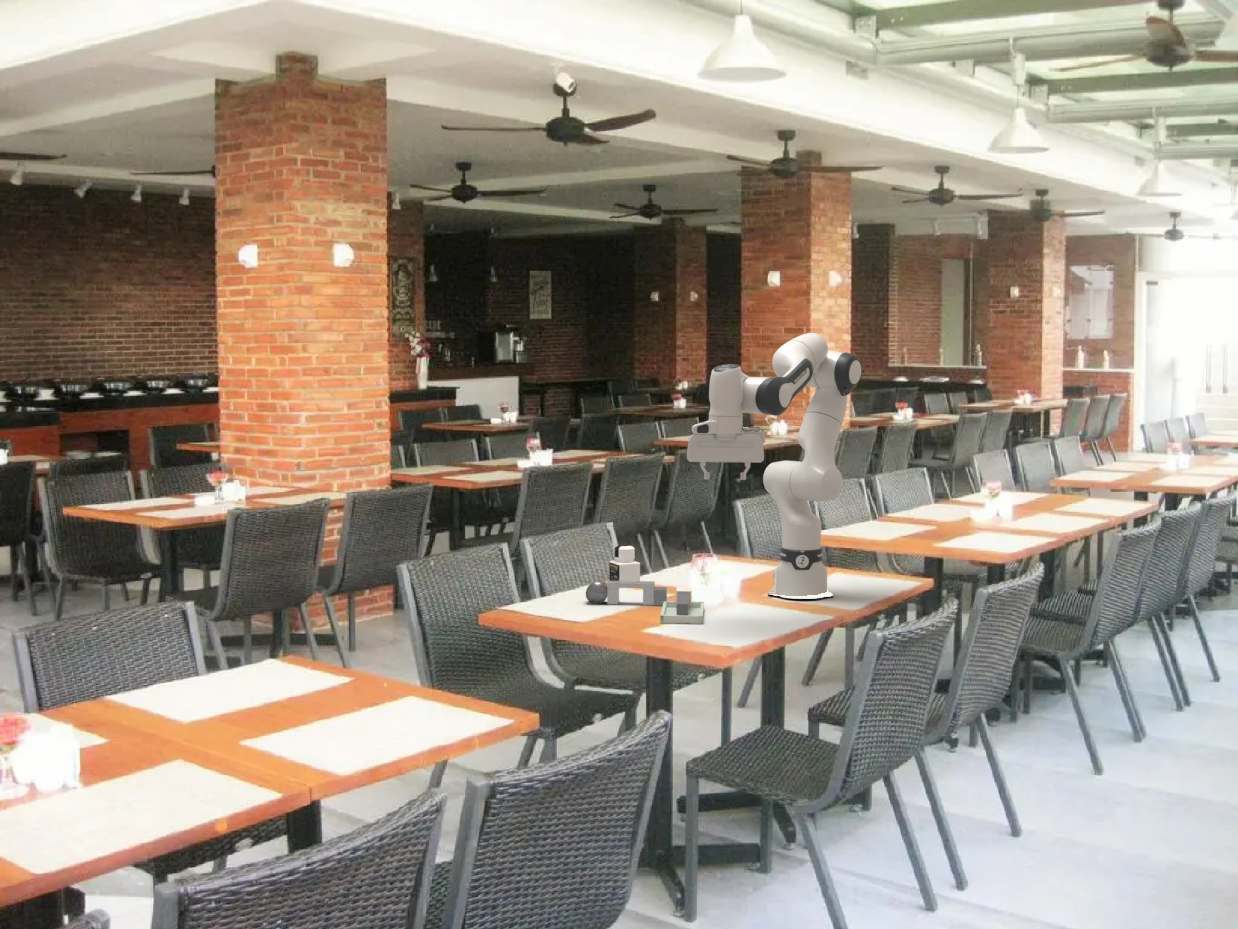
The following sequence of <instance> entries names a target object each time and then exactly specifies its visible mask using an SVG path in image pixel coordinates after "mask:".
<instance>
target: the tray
mask: <svg viewBox="0 0 1238 929" xmlns="http://www.w3.org/2000/svg"><path fill="white" fill-rule="evenodd" d="M704 612H705V602H704V601H691V605H689V612H688V616H685V615H677V605H676V600H674V601H673V600H667V601H664V603H663V606H661V611H660V614H659V615H660V616H659V617H660V618H659V619H660V620H659V622H660V624H674V623H683V624H684V623H691V624H690V625H703V623H704V614H703V613H704ZM684 625H685V624H684Z"/></svg>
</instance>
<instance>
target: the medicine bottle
mask: <svg viewBox="0 0 1238 929" xmlns="http://www.w3.org/2000/svg"><path fill="white" fill-rule="evenodd" d="M635 554H636V552H635V547H634V546H633V545H631V544H620V545H619V544H618V545H616V546H615V547H614V560H610V561H609V563H608V564H609V566H608V567H609V569H608V570H609V571H608V572H609V579H608V581H641V563H640V562H639V561H636V559H635V558H636V557H635V556H636V555H635Z"/></svg>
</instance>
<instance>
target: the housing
mask: <svg viewBox="0 0 1238 929" xmlns="http://www.w3.org/2000/svg"><path fill="white" fill-rule="evenodd" d="M655 583H656V582H655V581H647V580H646V581H645V580H644V581H643V580H642V581H641V580H640V581H609V580H608V581H607V583H606V582H604V581H603V580H600V579H597V580H593V581H592V582H590V583H589V585H588V586H587V588H586V590H585V597H586V599H587V601H588V602H589V603H590V604H592V605H595V606H597V605H598V606H599V605H601V604H602V603H605V601H606V604H607V605H610V604H616V605H619V604H620V589H623V588H624V589H642V606H656V607H663V603H664V601H668V586H656V584H655ZM616 605H615V606H616Z"/></svg>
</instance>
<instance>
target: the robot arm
mask: <svg viewBox="0 0 1238 929" xmlns="http://www.w3.org/2000/svg"><path fill="white" fill-rule="evenodd" d="M771 362H772V363H771V365H772V370H773V371H774V374H775V376H771V377H765V376H764V377H763V376H762V377H760V376H749V375H747V374H746V373H744V372H743V371H742V368H741V366H740V364H739V365H738V364H735V363H734V364H733V363H730V364H729V363H727V364H721V365H717V366H715V367H713V369H712V370H711V374H710V378H709V389H708V401H709V403H710V404H709V405H710V407H709V412H708V420H706V421H701V422H699V423H696V424H694V425H692V426H691V432H692V434H691V435H690V437H689V439H688V443H687V447H686V448H687V451H686V459H687V461H688V462H689V463H700V464H699V466H700V468H701V471H702V472H703V473H704V474H703V476H704V477H703V479H704V480H710V478H711V477H710V476H711V472H709V471H707V469H706V468H705V467H706V465H707V463H744V467H745V469H744V470H743V472H740V473H739V474H740V476H739V477H740V479H739V480H742V481H746V480H747V473H748V471H749V469H751V463H762V462H763V461H764V460H765V451H764V443H765V442H766V438H767V437H766V431H765V430H764V429H762V428H760V427H759V426H755V427H752V426H743V420H744V419H743V418H744V417H743V416H744V415H743V413H744V414H754V415H755V414H758V415H759V414H760V415H768V416H775V417H777V416H780V415H782V414H784V412H785V411H787V409H788V408H789V407H790V405H791V403H792V401H793V399H795V397H797V395H798V394H799V393H801V391H802V390H803V389H804V388H805V387H811V388H815V391H814V393H813V396H812V398H811V400H810V402H809V403H808V405H807V408H806V411H805V414H804V417H803V420H802V422H801V425H800V428H799V431H798V434H797V441H798V444H799V446H801V448H802V449H803V450H804V457H803V460H802V461H799V460H798V461H797V460H781V461H773V462H771V463H770V464H768V466H766V468H765V470H764V473H763V476H762V481H763V486H764V488H765V490H766V491H767V492H768V494H770V496H771V497H772V499H773V501H774V502H775V504H776V506H777V509H778V511H779V516H780V520H781V547H780V551H779V555H780V556H779V558H780V559H779V560H780V562H779V563H778V564H777V566H776V567H775V569H774V570H773V573H772V574H773V575H772V578H773V579H774V580H773V587H772V588H770V589H769V590H768V591H767V594H768V593H769V594H777V595H785V596H807V595H818V594H821V593H825V592H827V589H828V568H826V566H825V565H824V564H823V562H822V560H823V548H822V547H821V546H822V544H821V540H822V538H821V536H822V522H821V520H820V518H819V517H818V516H817V515H816V514H815V513H814V512H813V511H812V510H811V507H810V505H809V502H816V503H819V502H828V501H833V500H835V499H837V498H838V497H839V495H840V494H841V492H842V489H843V485H844V482H843V476H842V473H841V471H840V470H839V469H838V466H836V461H835V448H836V445H837V442H838V438H839V435H840V431H841V428H842V425H843V422H844V420H845V419H844V418H845V416H846V411H847V405H848V395H849V394H850V393H851V392H853V390H854V389H855V388H856V387H857V386H858V384H859V382H860V381H861V378H862V375H863V366H862V363H861V362H862V361H861V360H860V359H859V357H858V356H857V355H855V354H853V353H850V352H846V351H845V352H841V351H837V350H829V347H828V343H827V341H826V340H825V338H824V337H822V335H820V334H819V333H815V332H807V333H803V334H800V335H798V336H796V337H794V338H792V339H790V340H788V341H787V342H786V343H784V344H782V345H781V346H779V348H778V349H777V350H775V352H774V353H773V356H772V361H771ZM774 585H775V586H774ZM771 591H775V592H771Z"/></svg>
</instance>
